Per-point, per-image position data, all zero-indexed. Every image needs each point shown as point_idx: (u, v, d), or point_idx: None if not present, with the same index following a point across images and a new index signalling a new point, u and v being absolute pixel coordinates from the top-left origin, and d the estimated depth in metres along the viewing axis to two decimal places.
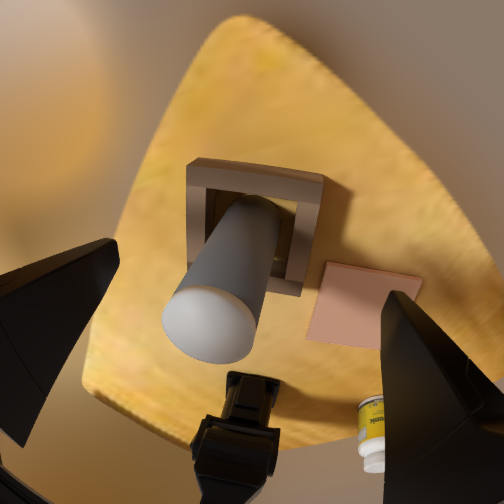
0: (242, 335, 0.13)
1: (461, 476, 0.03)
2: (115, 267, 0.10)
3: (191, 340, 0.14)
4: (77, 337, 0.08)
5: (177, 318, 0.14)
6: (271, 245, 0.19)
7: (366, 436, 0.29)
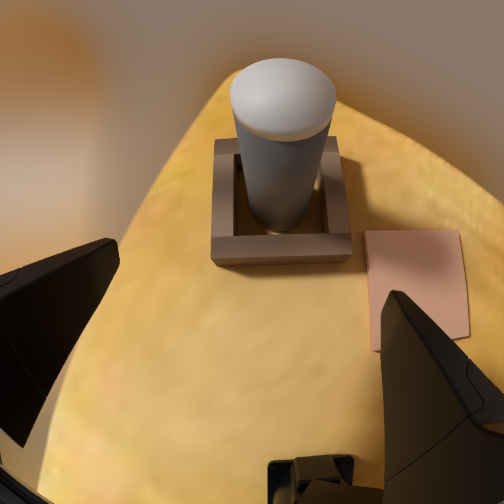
0: (322, 84, 0.11)
1: (461, 476, 0.03)
2: (115, 267, 0.10)
3: (266, 102, 0.11)
4: (77, 337, 0.08)
5: (250, 81, 0.12)
6: None
7: None
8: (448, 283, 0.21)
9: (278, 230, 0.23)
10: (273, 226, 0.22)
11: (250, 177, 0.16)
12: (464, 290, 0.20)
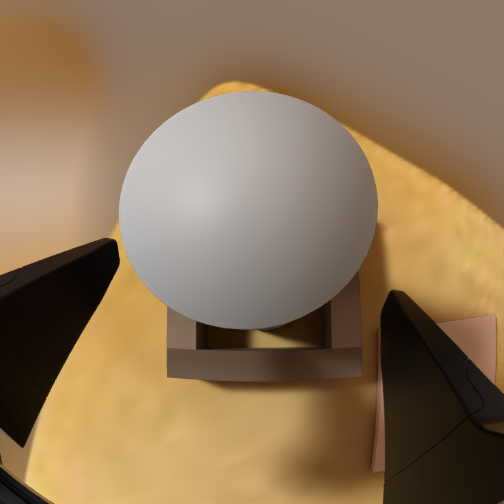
0: (344, 166, 0.05)
1: (460, 476, 0.03)
2: (115, 267, 0.10)
3: (196, 232, 0.05)
4: (77, 337, 0.08)
5: (167, 163, 0.05)
6: None
7: None
8: None
9: None
10: None
11: None
12: None
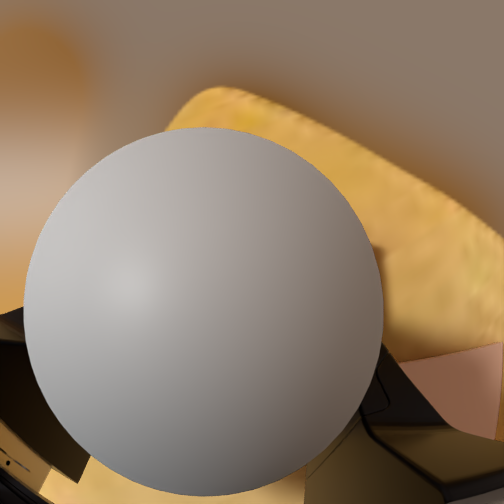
0: (334, 265, 0.03)
1: (353, 486, 0.03)
2: None
3: (108, 370, 0.03)
4: None
5: (71, 256, 0.03)
6: None
7: None
8: (478, 417, 0.12)
9: None
10: None
11: None
12: (495, 420, 0.12)
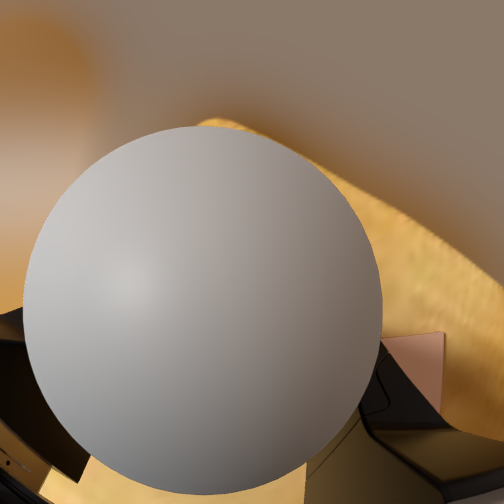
0: (332, 263, 0.03)
1: (353, 486, 0.03)
2: None
3: (107, 368, 0.03)
4: None
5: (70, 255, 0.03)
6: None
7: None
8: None
9: None
10: None
11: None
12: (438, 398, 0.18)
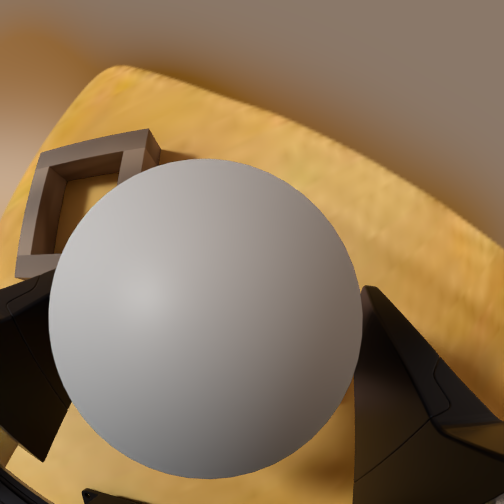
0: (320, 283, 0.04)
1: (422, 482, 0.03)
2: None
3: (129, 371, 0.04)
4: None
5: (93, 273, 0.04)
6: None
7: None
8: None
9: None
10: None
11: None
12: None
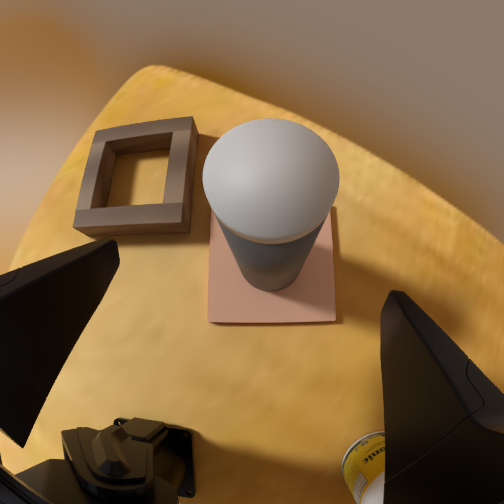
0: (322, 160, 0.10)
1: (461, 476, 0.03)
2: (115, 267, 0.10)
3: (247, 191, 0.10)
4: (77, 337, 0.08)
5: (229, 157, 0.10)
6: None
7: (366, 481, 0.13)
8: (307, 258, 0.22)
9: (269, 290, 0.21)
10: (263, 288, 0.20)
11: (234, 254, 0.15)
12: (330, 268, 0.21)
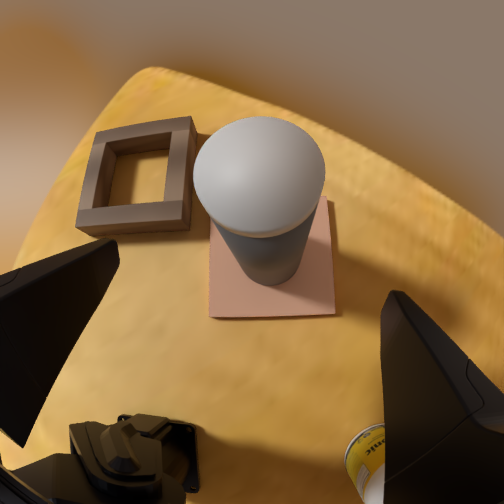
0: (308, 154, 0.10)
1: (461, 476, 0.03)
2: (115, 267, 0.10)
3: (236, 188, 0.10)
4: (77, 337, 0.08)
5: (218, 156, 0.10)
6: None
7: (369, 472, 0.13)
8: (306, 252, 0.22)
9: (269, 285, 0.21)
10: (263, 283, 0.21)
11: (231, 250, 0.15)
12: (329, 261, 0.22)
